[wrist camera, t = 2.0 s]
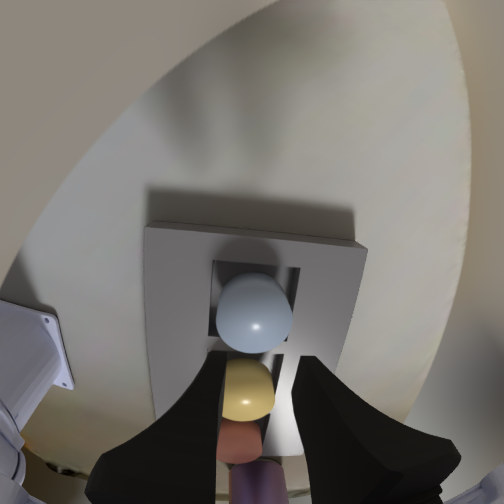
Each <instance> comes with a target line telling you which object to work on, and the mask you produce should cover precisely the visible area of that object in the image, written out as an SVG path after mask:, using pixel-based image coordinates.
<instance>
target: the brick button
mask: <svg viewBox="0 0 504 504" xmlns="http://www.w3.org/2000/svg"><path fill="white" fill-rule="evenodd" d="M261 454H262V442H261V432H260V427H259V425H258V424H257V423H256V422H254V421H253V420H252V421H234V420H230V419H227V418H223V419H222V420H221V426H220V432H219V439H218V445H217V454H216V459H217V460H219V461H222V462H226V463H232V464H241V463H247V462H251V461H253V460H255V459H257V458H258V457H259V456H260V455H261Z"/></svg>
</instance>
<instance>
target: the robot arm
mask: <svg viewBox="0 0 504 504" xmlns="http://www.w3.org/2000/svg"><path fill="white" fill-rule="evenodd" d="M47 318H48V319H47ZM48 320H49V321H48ZM226 367H227V352H222V351H210V352H208V355H207V357H206V360H205V362H204V364H203V365H202V367H201V369H200V371H199V372H198V374H197V375H196V377H195V378H194V380H193V381H192V383H191V384H190V385H189V387H188V388H187V389H186V391H185V392H184V393H183V394H182V396H181V397H180V398H179V399H178V400H177V401H176V402H175V404H174V405H173V406H172V407H171V408H170V409H169V410H168V411H167V412H166V413H164V414H163V415H162V416H161V417H160V418H159V419H158V420H156V421H155V422H154V423H153V424H152V425H150V426H149V427H148V428H146V429H145V430H143V431H142V432H141V433H139V434H138V435H136V436H135V437H133V438H132V439H130V440H128V441H127V442H125V443H123V444H121V445H119V446H117V447H115V448H113V449H111V450H109V451H107V452H105V453H103V454H102V455H101V456H100V458H99V459H98V461H97V462H96V464H95V466H94V468H93V469H92V471H91V473H90V476H89V479H88V482H87V485H86V488H85V492H84V493H85V495H86V496H87V498H88V500H89V501H90V502H91V503H92V504H215V492H216V454H217V445H218V439H219V432H220V426H221V420H222V413H223V403H224V391H225V379H226ZM52 384H55V385H58V386H61V387H64V388H67V389H70V390H73V388H74V387H75V385H74V382H73V379H72V375H71V372H70V369H69V365H68V362H67V358H66V354H65V350H64V346H63V342H62V338H61V333H60V329H59V324H58V320H57V318H56V316H54V315H53V314H49V313H45V312H41V311H37V310H34V309H30V308H26V307H23V306H19V305H16V304H12V303H9V302H5V301H2V300H0V504H46V503H44V502H42V501H40V500H38V499H36V498H34V497H32V496H30V495H29V494H28V493H27V491H26V490H25V489H24V488H23V487H22V486H21V485H22V483H23V480H24V477H25V467H26V462H25V457H24V454H23V453H22V451H21V450H20V449H21V447H22V446H23V444H24V442H25V441H24V440H23V439H22V437H21V436H20V432H21V430H22V429H23V427H24V426H25V424H26V422H27V421H28V419H29V418H30V416H31V415H32V413H33V412H34V410H35V409H36V407H37V406H38V404H39V403H40V401H41V400H42V398H43V397H44V395H45V394H46V392H47V391H48V390H49V388H50V387H51V385H52ZM291 397H292V405H293V413H294V417H295V420H296V424H297V428H298V431H299V435H300V439H301V442H302V446H303V449H304V453H305V457H306V461H307V467H308V474H309V481H310V490H311V499H312V504H504V463H502V464H501V465H499V466H498V467H496V468H495V469H493V470H492V471H491V472H490V473H488V474H487V475H486V476H485V477H484V478H483V479H482V480H481V481H480V483H478V484H477V485H475V486H473V487H472V488H470V489H468V490H466V491H465V492H463V493H461V494H459V495H457V496H456V497H454V498H452V499H450V500H448V501H446V502H444V503H443V502H442V500H441V498H440V496H439V494H441V493H442V488H441V486H440V484H441V483H442V482H443V481H444V480H445V479H446V478H447V477H448V476H449V475H450V474H451V473H452V472H453V471H454V470H455V468H456V467H457V466H458V464H459V463H460V461H461V455H460V453H459V452H458V450H457V449H456V447H455V446H454V444H453V443H452V441H451V440H449V439H445V438H441V437H437V436H434V435H430V434H426V433H424V432H421V431H418V430H415V429H413V428H411V427H408V426H406V425H404V424H402V423H400V422H398V421H396V420H394V419H392V418H390V417H388V416H387V415H385V414H383V413H382V412H380V411H378V410H377V409H375V408H374V407H372V406H371V405H369V404H368V403H367V402H365V401H364V400H363V399H361V398H360V397H359V396H358V395H356V394H355V393H354V392H353V391H352V390H350V389H349V388H348V387H347V386H346V385H345V384H344V383H343V382H342V381H340V380H339V379H338V378H337V377H336V376H335V375H334V374H333V373H332V372H331V371H330V370H329V369H328V368H327V367H326V366H325V365H324V364H323V363H322V362H321V361H320V360H319V359H318V358H317V357H316V356H300V359H299V363H298V367H297V371H296V375H295V379H294V383H293V386H292V390H291Z"/></svg>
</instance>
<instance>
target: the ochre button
mask: <svg viewBox="0 0 504 504" xmlns="http://www.w3.org/2000/svg"><path fill="white" fill-rule="evenodd" d="M274 404H275V394H274V388H273V382H272V377H271V373H270V371H269V369H268V368H267V367H266V366H265V365H264V364H262V363H261V362H259V361H257V360H253V359H249V358H237V359H232V360H229V361H227V367H226V379H225V391H224V403H223V413H222V416H223V417H225V418H227V419H230V420H234V421H252V420H256V419H259V418H261V417H263V416H265V415H266V414H268V413H269V412H270V411H271V410H272V408H273V407H274Z"/></svg>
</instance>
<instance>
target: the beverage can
mask: <svg viewBox="0 0 504 504" xmlns="http://www.w3.org/2000/svg"><path fill="white" fill-rule="evenodd" d="M229 504H289V501H288V494H287V488H286V482H285V476H284V470H283V468H282V467H281V466H280V465H279V464H278V463H277V462H275V461H273V460H270V459H265V458H257V459H255V460H253V461H251V462H247V463H241V464H235V465H234V466H233V467H232V468H231V470H230V471H229Z"/></svg>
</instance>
